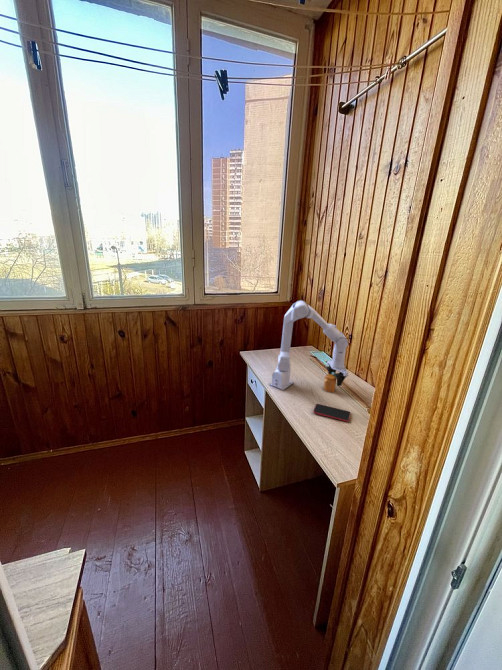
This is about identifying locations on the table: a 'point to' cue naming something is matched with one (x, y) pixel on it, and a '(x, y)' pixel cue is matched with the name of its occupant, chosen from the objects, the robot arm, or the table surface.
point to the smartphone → (332, 412)
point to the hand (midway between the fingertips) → (335, 382)
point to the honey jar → (329, 383)
